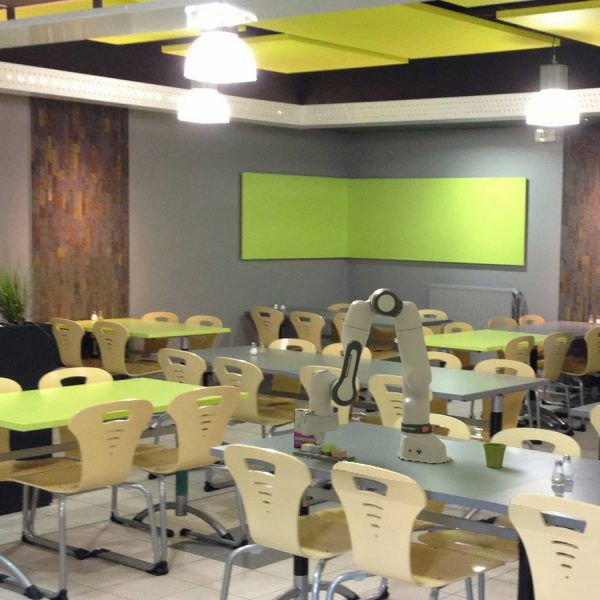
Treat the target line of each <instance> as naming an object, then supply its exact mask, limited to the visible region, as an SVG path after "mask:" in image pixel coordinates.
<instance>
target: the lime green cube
mask: <svg viewBox="0 0 600 600" xmlns="http://www.w3.org/2000/svg"><path fill="white" fill-rule="evenodd" d="M333 450H337V444H333V443H322V451H325V452H326V453H327V454H331V453H332V452H333Z"/></svg>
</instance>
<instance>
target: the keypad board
mask: <svg viewBox="0 0 600 600" xmlns="http://www.w3.org/2000/svg"><path fill="white" fill-rule="evenodd" d="M293 454H294V456H298V455H301V456H300V457H303V456H307V457H306V458H308V457H311V458H310V459H314V458H316V459H315V460H319V459H321V460H320V461H324V460H325V461H324V462H330V461H331V463H336V462H338V461H343V460H349V461H352V460H355V459H356V458H355V457H356V455H350V454H347V457H342V458H341V459H340V458H337V457H333V452H332V453H331V454H327V453H326V452H325V453H321V454H316V453H312V452H310V453H309V452H305V451H301V449H299V450H295V451H292V455H293ZM336 464H337V463H336Z"/></svg>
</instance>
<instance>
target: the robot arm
mask: <svg viewBox="0 0 600 600" xmlns="http://www.w3.org/2000/svg"><path fill="white" fill-rule="evenodd" d="M378 316H380V317H389V318H392V321H393V323H394V329H395V330H394V331H395V335H396V336H395V337H396V341H397V348H398V352H399V353H398V354H399V357H400V363H401V367H402V372H401V373H402V375H401V376H402V378H401V379H402V380H401V381H402V389H401V391H402V416H401V417H402V421H401V422H400V432H401V435H400V436H401V437H400V438H401V439H400V445H399V449H398V453H397V455H396V456H397V457H398V458H399V457H400V458H399V460H401V459H405V460H404V461H408V460H412V461H411V462H415V461H420V462H419V463H423V462H427V463H426V464H431V463H437V464H442V463H443V462H445V463H447V461H449V462H451V461H452V460H453V456H449V455H447V447H446V444H445V443H444V442H443V441H442V440H441V439H440V438H439V437H438V436H437V434H435V433H434V429H436V428H435V427H436V426H435V425H432V424H431V423H430V416H431V415H430V413H431V407H430V406H431V403H430V402H431V400H430V398H431V397H430V385H431V383H432V380H433V374H432V370H431V364H430V359H429V354H428V350H427V345H426V341H425V339H426V338H425V335H424V328H423V324H422V318H421V314H420V312H419V309H418V307H417V305H416V303H414V302H413V301H409V300H404V301H402V300H401V299H400V297H399V296H398V295H397V293H395V292H394V291H393V290H391V289H388V288H378V289H376V290H374V291H373V292H371V293H370V295H369V296H368V297H367V298H366V299H365V300H362V299H361V300H360V299H358V300H355V301H354V300H353V302H352V303H351V304H350V305H349V308H348V309H347V312H346V315H345V318H344V321H343V326H342V330H341V345H342V347H343V361H342V365H341V366H342V367H341V370H340V375H336V374H335V373H333V372H331V371H330V370H329V369H319V370H315V371H312V373H311V374H310V377H309V382H308V383H309V384H308V389H309V390H308V391H309V392H308V393H309V400H308V409H309V412H306V413H305V414H304V415H303V419H302V424H301V433H302V435H307V436H309V435H314V437H315V439H316V444H322V445H323V444H325V437H326V435H327V433H328V432H333V431H337V430H338V429H339V428H340V427H339V426H340V424H339V423H340V416H339V413H340V408H339V407H337V406H340V407H348V406H350V405H352V404H353V403H355V401H356V400H357V397H358V392H357V391H358V389H357V385H356V379H357V375H358V370H359V366H360V361H361V357H362V354H363V352H364V349H365V347H366V344H367V342H368V339H369V335H370V331H371V327H372V324H373V320H374V319H375V318H376V317H378ZM332 401H333V402H334V403H335V404H336V405H337V406H334V405H332ZM320 434H321V435H320ZM319 436H320V437H319ZM450 460H451V461H450Z"/></svg>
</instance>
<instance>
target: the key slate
mask: <svg viewBox="0 0 600 600" xmlns="http://www.w3.org/2000/svg"><path fill="white" fill-rule="evenodd" d="M312 453H316V454H321V453H325V451H322V446H319V445H317V446H312Z"/></svg>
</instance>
